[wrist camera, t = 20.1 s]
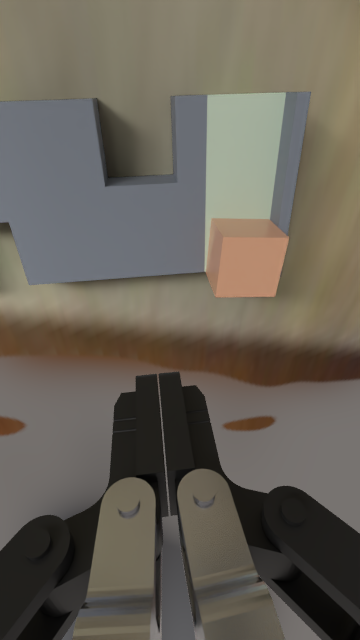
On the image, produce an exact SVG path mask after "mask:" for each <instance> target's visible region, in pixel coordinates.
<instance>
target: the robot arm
mask: <svg viewBox="0 0 360 640" xmlns="http://www.w3.org/2000/svg"><path fill="white" fill-rule="evenodd" d="M159 384H160V396H161V407H162V419H163V429H164V430H163V431H164V443H165V454H166V466H167V477H168V489H169V501H170V512H171V516H172V515H178V525H179V534H180V546H181V553H182V559H183V565H184V571H185V576H186V583H187V588H188V594H189V600H190V606H191V612H192V617H193V624H194V630H195V638H196V640H285V637H284V634H283V631H282V628H281V625H280V622H279V619H278V616H277V613H276V610H275V607H274V604H273V601H272V598H271V596H270V594H269V591H268V588H267V587H266V585H265V583H266V584H267V585H268V586H269V587H270V588H271V589H272V590H273V591H274V592H275V593H276V594H277V595H278V596H279V597H280V598H281V599H282V600H283V601H284V602H285V603H286V604H287V605H288V606H289V607H290V608H291V609H292V610H293V611H294V612H295V613H296V614H297V615H298V616H299V617H300V618H301V619H302V620H303V621H304V622H305V623H306V624H307V625H308V626H309V627H310V628H311V629H312V630H313V631H314V632H315V633H316V634H317V635H318V636H319V637H320V638H321V639H322V640H360V534H359V533H358V532H357V531H355V530H354V529H353V528H352V527H350V526H349V525H347V524H346V523H345V522H344V521H342V520H341V519H340V518H338V517H337V516H336V515H334V514H333V513H332V512H330V511H329V510H328V509H326V508H325V507H324V506H322V505H321V504H320V503H318V502H317V501H316V500H314V499H313V498H312V497H311V496H309V495H308V494H307V493H305V492H304V491H302V490H300V489H297V488H295V487H291V486H280V487H277V488H274V489H273V490H272V491H270V492H269V493H268V494H267V493H263V492H258V491H253V490H249V489H245V488H242V487H240V486H238V485H236V484H234V483H233V482H232V481H231V480H229V478H227V476H226V475H225V474H224V472H223V470H222V468H221V465H220V461H219V457H218V452H217V449H216V444H215V440H214V435H213V431H212V427H211V423H210V418H209V414H208V409H207V405H206V401H205V396H204V395H203V394H202V392H201V391H200V390H199V389H198V387H196V386H195V385H194V386H184V387H182V385H181V379H180V373H179V372H170V373H160V374H159ZM166 516H168V504H167V491H166V478H165V465H164V454H163V441H162V429H161V417H160V404H159V394H158V382H157V374H151V375H142V376H136V392H128V393H121V395H120V397H119V398H118V400H117V402H116V404H115V406H114V423H113V435H112V451H111V465H110V479H109V483H108V487H107V489H106V491H105V493H104V494H103V496H102V497H101V498H100V499H99V501H97V503H95V504H94V505H93V506H91V507H90V508H88V509H87V510H85V511H83V512H81V513H79V514H76V515H74V516H73V517H70V518H68V519H66V520H64V521H63V520H62V519H61V518H59V517H57V516H54V515H45V516H40V517H38V518H35V519H33V520H32V521H30V522H28V523H27V524H26V525H24V526H23V527H22V528H21V530H19V531H18V533H17V534H16V535H15V536H14V537H13V538H12V539H11V540H10V541H9V542H8V543H7V544H6V546H5V547H4V548H3V549H2V550H1V551H0V640H61V639H62V638H63V637H64V635H65V634H66V632H67V631H68V629H69V628H70V626H71V625H72V623H73V622H74V620H75V619H76V617H77V619H76V623H75V628H74V633H73V638H72V640H162V638H161V609H162V608H161V606H162V601H161V600H162V594H161V593H162V546H163V529H162V517H166ZM258 575H259V576H260V577H261V578H260V577H259V576H258ZM264 582H265V583H264Z"/></svg>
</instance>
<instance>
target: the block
mask: <svg viewBox="0 0 360 640" xmlns="http://www.w3.org/2000/svg"><path fill="white" fill-rule="evenodd" d="M288 241H289V237H288V236H287V235H286V234H285V233H284V232H283V231H282V230H280V229H279V228H278V227H277V226H276V225H275V224H274V223H273V222H272V221H271V220H270V219H229V218H211V227H210V237H209V246H208V256H207V266H206V275H207V277H208V280H209V282H210V285H211V287H212V290H213V292H214V295H215V297H275V295H276V291H277V287H278V282H279V278H280V274H281V270H282V266H283V262H284V258H285V254H286V250H287V246H288Z"/></svg>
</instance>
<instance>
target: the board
mask: <svg viewBox="0 0 360 640" xmlns="http://www.w3.org/2000/svg"><path fill="white" fill-rule="evenodd" d="M310 95H311V92H276V93H246V94H216V95H185V96H171V119H172V148H173V174H171V175H152V176H132V177H113V178H108V175H107V168H106V161H105V153H104V146H103V139H102V132H101V125H100V118H99V111H98V104H97V98H94V99H64V100H33V101H3V102H0V223H3V222H9V225H10V228H11V231H12V234H13V237H14V240H15V243H16V246H17V250H18V253H19V256H20V259H21V262H22V265H23V268H24V271H25V274H26V277H27V280H28V284H29V285H37V284H50V283H63V282H77V281H90V280H103V279H117V278H130V277H143V276H157V275H170V274H183V273H197V272H206V266H207V256H208V246H209V237H210V227H211V218H229V219H270V220H271V221H272V222H273V223H274V224H275V225H276V226H277V227H278V228H279V229H280V230H282V231H283V232H284V233H285V234H286V235H287V236H288V230H289V224H290V218H291V211H292V205H293V199H294V193H295V187H296V181H297V175H298V168H299V162H300V156H301V150H302V144H303V138H304V132H305V125H306V119H307V113H308V107H309V101H310ZM282 267H283V266H282ZM281 273H282V270H281ZM280 277H281V274H280Z"/></svg>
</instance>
